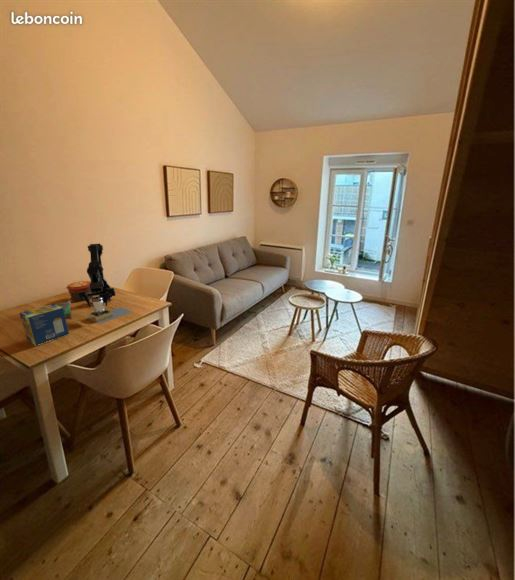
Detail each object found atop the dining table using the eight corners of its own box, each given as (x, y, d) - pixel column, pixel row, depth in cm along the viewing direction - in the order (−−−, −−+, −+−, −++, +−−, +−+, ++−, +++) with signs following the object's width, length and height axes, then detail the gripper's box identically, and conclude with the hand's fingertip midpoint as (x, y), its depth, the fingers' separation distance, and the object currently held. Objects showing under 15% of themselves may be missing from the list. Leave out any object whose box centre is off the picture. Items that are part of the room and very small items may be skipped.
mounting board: (87, 320, 167) (86, 318, 166) (120, 308, 183) (120, 306, 183) (99, 325, 159) (99, 323, 159) (133, 313, 176) (133, 311, 175)
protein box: (27, 341, 143) (18, 312, 138) (60, 329, 155) (54, 303, 150) (35, 347, 138) (27, 317, 133) (69, 334, 150) (63, 307, 145)
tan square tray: (88, 318, 166) (87, 313, 165) (104, 313, 173) (103, 308, 172) (96, 322, 161) (95, 317, 160) (112, 316, 168) (112, 311, 167)
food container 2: (64, 301, 197) (60, 286, 194) (83, 293, 212) (80, 280, 208) (82, 303, 193) (78, 288, 189) (100, 295, 207) (98, 281, 204)
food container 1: (54, 324, 162) (49, 307, 159) (49, 321, 166) (45, 305, 162) (77, 317, 171) (73, 301, 168) (73, 314, 175) (69, 299, 172)
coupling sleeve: (94, 317, 168) (90, 297, 164) (105, 314, 171) (102, 295, 168) (95, 320, 163) (92, 300, 160) (107, 317, 167) (103, 298, 163)
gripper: (74, 278, 159) (75, 303, 153) (111, 274, 167) (114, 298, 160) (79, 287, 169) (80, 311, 163) (114, 283, 176) (116, 306, 170)
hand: (98, 306), depth 164 cm, fingers open, 8 cm apart
